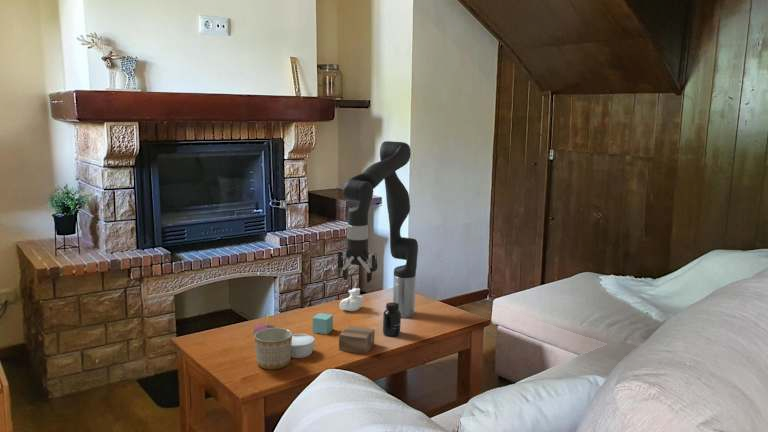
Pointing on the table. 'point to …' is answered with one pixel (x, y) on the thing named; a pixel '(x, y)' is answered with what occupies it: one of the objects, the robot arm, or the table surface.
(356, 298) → the duck figurine
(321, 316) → the teal cube
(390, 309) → the supplement bottle
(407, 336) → the table surface
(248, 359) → the table surface
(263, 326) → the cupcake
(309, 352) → the ramekin
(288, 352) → the planter
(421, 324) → the table surface
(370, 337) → the walnut block
